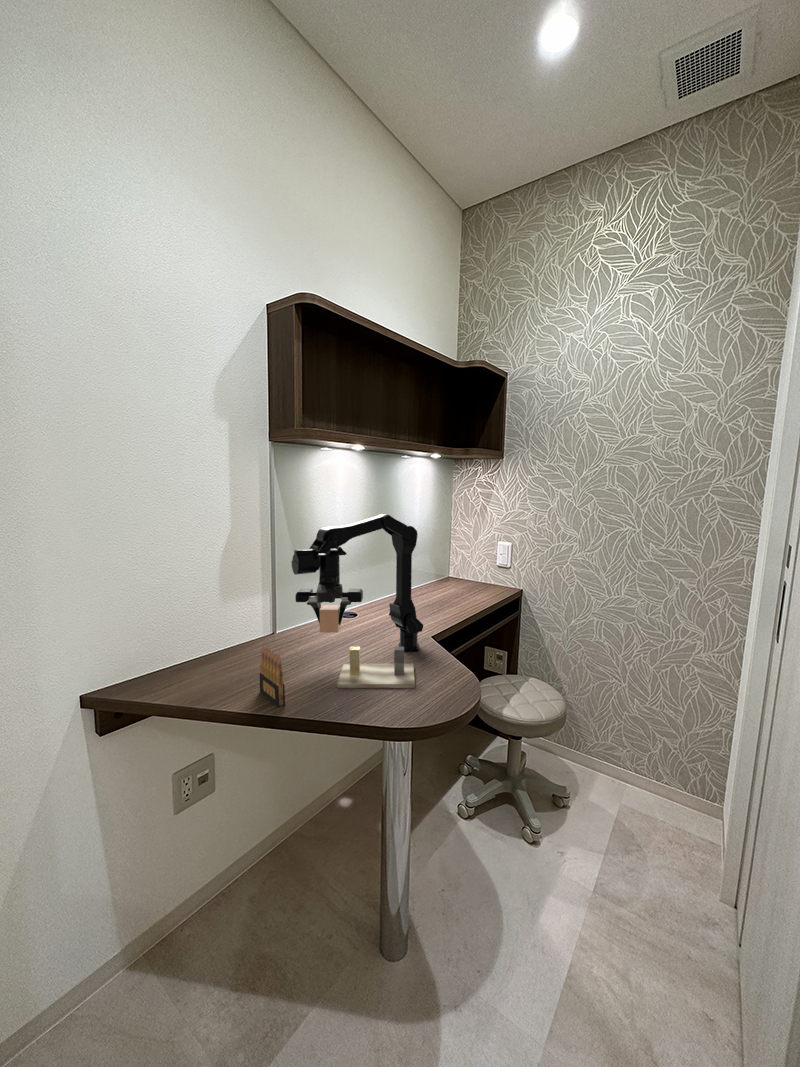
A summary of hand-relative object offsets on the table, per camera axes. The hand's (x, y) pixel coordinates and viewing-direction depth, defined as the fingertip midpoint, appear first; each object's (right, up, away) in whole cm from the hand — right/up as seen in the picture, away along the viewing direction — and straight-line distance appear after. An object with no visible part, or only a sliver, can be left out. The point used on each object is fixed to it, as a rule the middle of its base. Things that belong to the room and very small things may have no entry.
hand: (330, 624), depth 132 cm
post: (+8, -13, -8) cm, 17 cm away
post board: (+14, -13, -8) cm, 20 cm away
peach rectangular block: (0, -2, 0) cm, 2 cm away
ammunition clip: (-11, -14, -21) cm, 27 cm away
